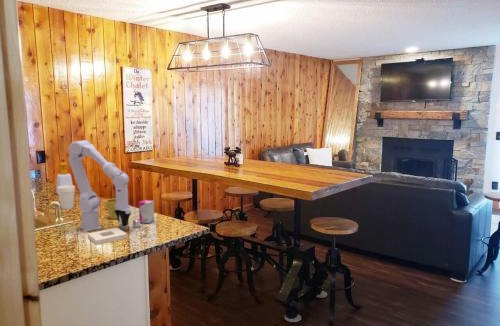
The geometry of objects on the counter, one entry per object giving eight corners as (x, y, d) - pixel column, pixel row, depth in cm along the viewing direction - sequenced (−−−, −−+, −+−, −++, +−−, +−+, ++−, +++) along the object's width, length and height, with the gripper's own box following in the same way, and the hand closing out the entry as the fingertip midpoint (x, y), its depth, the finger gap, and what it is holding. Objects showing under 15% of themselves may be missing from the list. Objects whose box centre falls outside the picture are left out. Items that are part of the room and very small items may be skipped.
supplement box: (154, 221, 205) (154, 200, 203) (149, 224, 199) (148, 202, 197) (145, 220, 206) (144, 199, 204) (139, 223, 200) (138, 202, 199)
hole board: (87, 237, 178) (87, 233, 178) (117, 231, 187) (117, 227, 187) (96, 244, 169) (96, 240, 169) (127, 237, 178) (127, 233, 178)
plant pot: (130, 216, 213) (129, 199, 212) (116, 221, 204) (115, 203, 203) (116, 213, 218) (115, 197, 217) (102, 218, 209) (101, 201, 207)
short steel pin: (131, 226, 195) (131, 220, 194) (138, 225, 197) (138, 218, 197) (134, 228, 192) (134, 221, 192) (141, 227, 194) (141, 220, 194)
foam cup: (69, 210, 225) (68, 188, 223) (55, 209, 226) (53, 188, 224) (79, 206, 234) (77, 185, 232) (65, 205, 235) (64, 184, 234)
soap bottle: (69, 190, 276) (66, 160, 273) (74, 194, 266) (72, 162, 262) (54, 192, 270) (52, 161, 267) (59, 196, 260) (57, 163, 256)
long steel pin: (118, 229, 190) (117, 213, 189) (125, 228, 193) (124, 212, 192) (121, 231, 188) (120, 215, 187) (128, 229, 190) (127, 214, 189)
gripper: (136, 199, 185) (137, 226, 187) (123, 194, 196) (125, 220, 198) (121, 201, 180) (123, 229, 182) (110, 196, 191) (111, 222, 193)
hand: (123, 224), depth 190 cm, fingers closed on long steel pin, 4 cm apart
